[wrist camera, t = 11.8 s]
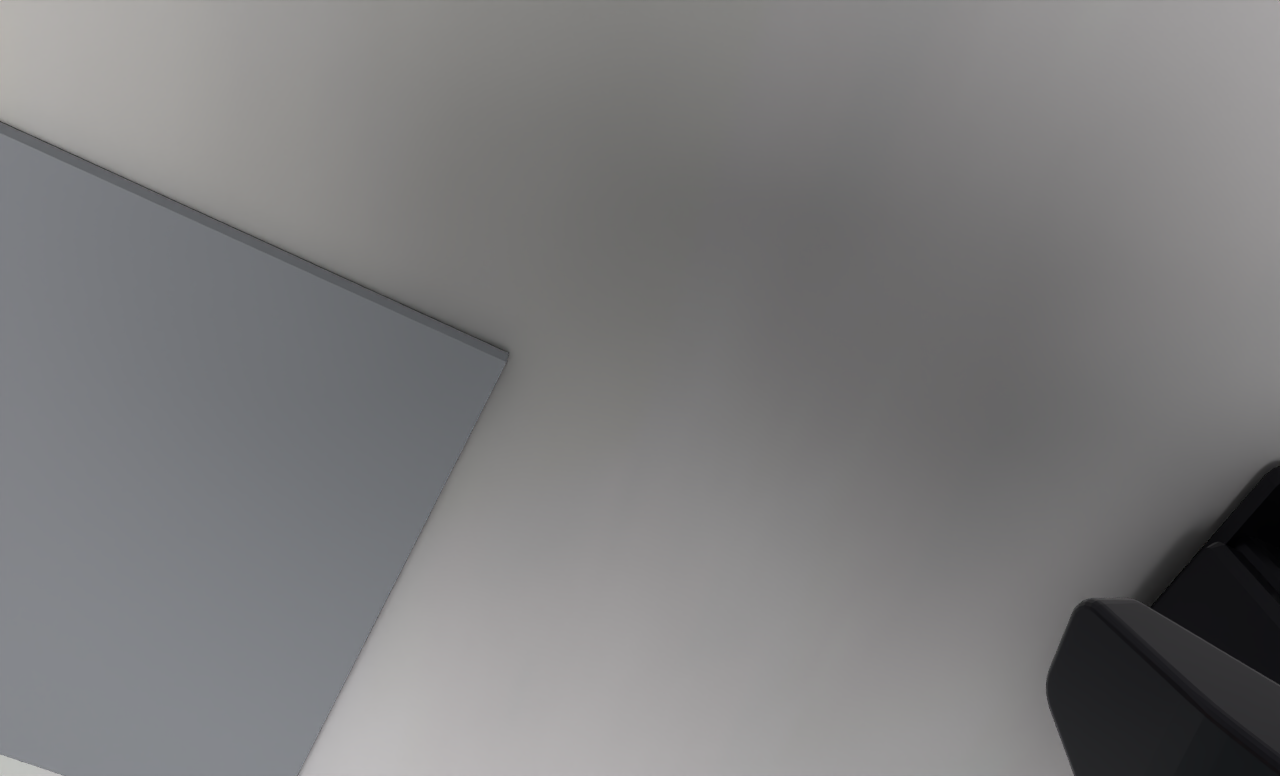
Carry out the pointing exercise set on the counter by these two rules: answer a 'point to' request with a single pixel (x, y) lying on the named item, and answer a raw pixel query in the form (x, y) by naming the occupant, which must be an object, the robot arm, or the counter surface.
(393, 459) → the mat
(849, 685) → the counter surface
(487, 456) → the counter surface
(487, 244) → the counter surface
